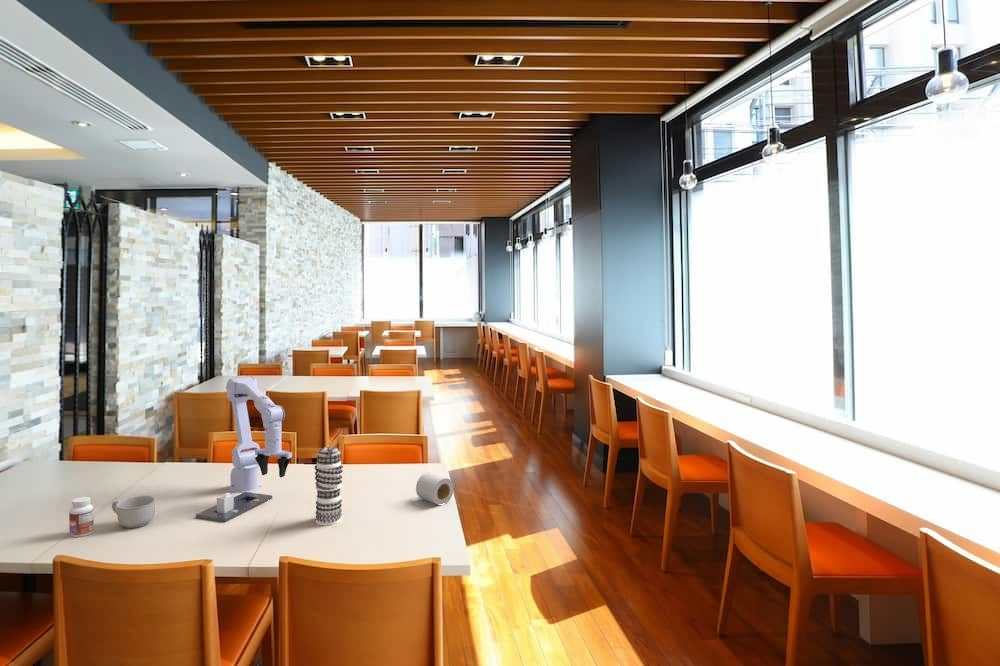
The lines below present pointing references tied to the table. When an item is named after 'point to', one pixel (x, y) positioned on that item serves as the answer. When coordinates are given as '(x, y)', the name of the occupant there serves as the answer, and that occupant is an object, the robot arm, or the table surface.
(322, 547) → the table surface
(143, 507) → the teacup
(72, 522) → the pill bottle
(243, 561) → the table surface
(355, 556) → the table surface
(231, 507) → the plug
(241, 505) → the panel
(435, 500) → the toilet paper
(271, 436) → the robot arm
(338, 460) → the grey patterned cylinder
